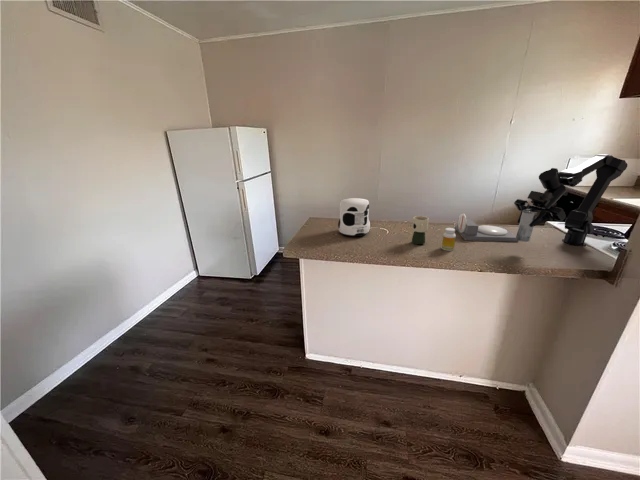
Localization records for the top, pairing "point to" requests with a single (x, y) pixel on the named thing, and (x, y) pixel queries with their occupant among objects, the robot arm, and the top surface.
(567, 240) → the robot arm
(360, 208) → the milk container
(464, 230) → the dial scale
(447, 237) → the supplement bottle
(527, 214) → the ball
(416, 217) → the character mug
